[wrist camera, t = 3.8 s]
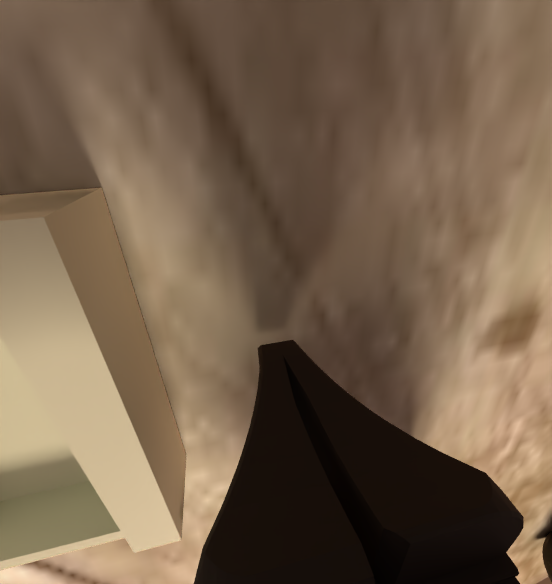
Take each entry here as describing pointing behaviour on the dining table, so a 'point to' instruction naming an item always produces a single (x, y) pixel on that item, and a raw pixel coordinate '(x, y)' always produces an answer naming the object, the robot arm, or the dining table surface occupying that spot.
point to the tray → (78, 389)
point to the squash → (548, 554)
